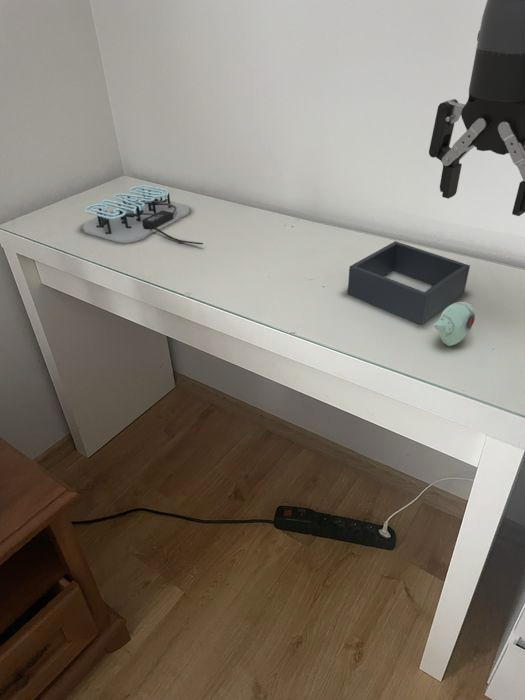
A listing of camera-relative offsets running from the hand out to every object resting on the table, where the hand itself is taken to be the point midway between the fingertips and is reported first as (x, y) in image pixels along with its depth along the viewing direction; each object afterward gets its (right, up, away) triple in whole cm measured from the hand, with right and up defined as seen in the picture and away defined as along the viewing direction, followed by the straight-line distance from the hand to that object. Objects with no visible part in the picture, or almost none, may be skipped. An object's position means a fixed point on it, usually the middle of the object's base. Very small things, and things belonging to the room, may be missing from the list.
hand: (482, 204), depth 61 cm
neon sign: (-46, +9, +49) cm, 68 cm away
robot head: (+1, -16, +12) cm, 20 cm away
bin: (-3, -8, +24) cm, 25 cm away
